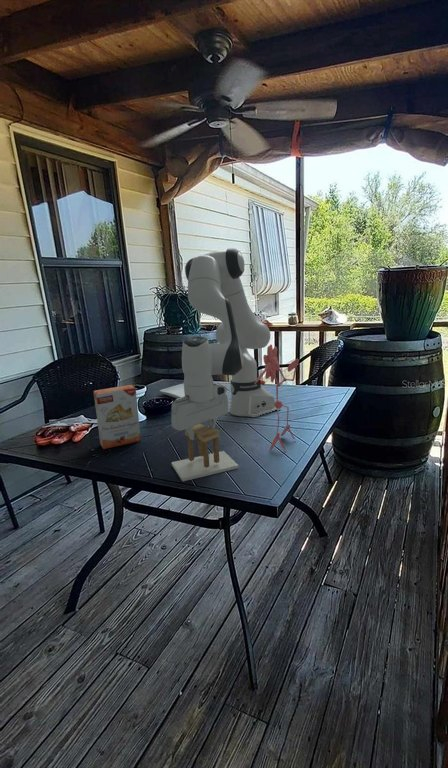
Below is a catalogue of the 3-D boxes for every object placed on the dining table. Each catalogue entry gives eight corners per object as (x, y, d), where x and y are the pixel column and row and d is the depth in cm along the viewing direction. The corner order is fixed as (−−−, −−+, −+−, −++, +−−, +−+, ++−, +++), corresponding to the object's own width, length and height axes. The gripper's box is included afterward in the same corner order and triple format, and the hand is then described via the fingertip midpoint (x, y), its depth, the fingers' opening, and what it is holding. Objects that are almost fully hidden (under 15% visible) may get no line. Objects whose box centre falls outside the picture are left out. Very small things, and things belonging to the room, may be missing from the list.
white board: (223, 453, 135) (223, 450, 135) (238, 468, 125) (238, 465, 124) (171, 465, 129) (171, 462, 129) (182, 481, 118) (182, 478, 118)
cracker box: (103, 450, 143) (95, 394, 138) (100, 444, 149) (92, 390, 143) (141, 441, 149) (135, 387, 144) (137, 436, 155) (131, 383, 149)
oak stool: (220, 461, 125) (218, 430, 122) (206, 468, 121) (204, 436, 118) (201, 453, 132) (199, 423, 129) (187, 460, 128) (184, 429, 125)
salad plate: (183, 403, 193) (183, 396, 192) (159, 396, 208) (158, 389, 208) (216, 393, 207) (216, 387, 206) (191, 387, 222) (190, 381, 221)
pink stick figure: (305, 433, 148) (303, 338, 140) (279, 462, 127) (274, 352, 118) (267, 428, 156) (262, 338, 147) (236, 455, 135) (228, 351, 126)
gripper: (178, 402, 111) (182, 448, 115) (230, 386, 125) (232, 428, 129) (164, 398, 116) (168, 443, 119) (216, 383, 129) (218, 423, 133)
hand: (202, 435), depth 124 cm, fingers closed on oak stool, 6 cm apart
